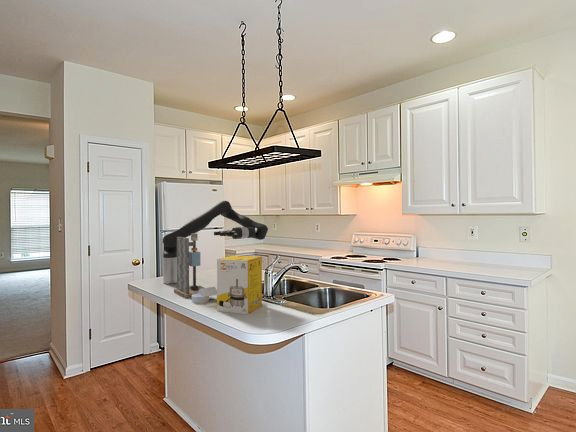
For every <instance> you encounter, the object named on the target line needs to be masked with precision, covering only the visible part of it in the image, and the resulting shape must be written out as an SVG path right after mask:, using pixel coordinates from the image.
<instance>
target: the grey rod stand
mask: <svg viewBox="0 0 576 432" xmlns="http://www.w3.org/2000/svg"><path fill="white" fill-rule="evenodd" d="M198 238H199V237H198V232H197V233H192V234H191V235H190V238H189V237H186V238H183V237H177V283H176V288H173V293H174V294H176V295H177V296H180V297H182V298H184V299H192V295H193V294H197V292H198V291H199V290H200V289H202V288H205V287H203V286H201V285H197V266H192V285H190V266H189V252H196V251H198V248H197V247H196V246H197V245H196V244H197V242H196V241H199V239H198ZM190 247H191V249H190ZM190 250H191V251H190Z"/></svg>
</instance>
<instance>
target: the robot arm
mask: <svg viewBox="0 0 576 432" xmlns="http://www.w3.org/2000/svg"><path fill="white" fill-rule="evenodd" d="M220 215H221V216H222V217H224V218H226V219H229V220H231V221H233V222H235V223H237V224H239V225H241V226H234V227H232V228H231V230H230V229H229V230H228V229H227V230H221V231H220V230H219V231H213V236H220V237H231V238H232V239H233V240H241V239H256V240H259V241H262V240H264V239H265V238H266V236H267V233H268V230H269V227H268V226H267V225H266V224H263V223H260V222H256V221H255V220H253V219H251V218H250V217H249V216H245V215H243V214H240V213H238V212H237V211H236V210H234V208H232V204H231V203H230V201H229V200H222V201H220V202H218V203H216V204H215V205H214V206H213V207H211V208H209V209H208V210H207V211H205V212H203V213H201V214H200V215H198V216H197V215H196V217H194V218H192V219H191V220H189V221H188V222H186V223H184V225H183V226H181V227H180V228H178V229H176V230H174V231H172V232H170V233H166V234H165V235H164V236H163V237H162V244H163V250H162V251H163V252H162V264H163V265H162V268H163V269H162V270H163V271H162V278H163V279H162V280H163V281H162V283H163V284H166V285H167V284H171V285H172V284H177V237H183V238H189V237H191V234H192V233H197V234H198V233H199V232H200V231H202V230H204V229H205V228H206V227H208V226H209V225H210V223H211V222H212V221H213V220H214V219H215V218H217V217H218V216H220Z"/></svg>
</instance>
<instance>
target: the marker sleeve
mask: <svg viewBox="0 0 576 432" xmlns="http://www.w3.org/2000/svg"><path fill="white" fill-rule="evenodd" d="M193 266H196V267H199V266H200V267H201V251H199V250H197V251H196V252H193V251H189V267H193Z"/></svg>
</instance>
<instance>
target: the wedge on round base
mask: <svg viewBox="0 0 576 432" xmlns="http://www.w3.org/2000/svg"><path fill="white" fill-rule="evenodd" d="M210 296H217V287H216V286H211V287H210V286H209V287H204V288H202V289H200V290H199V291H198V292H197V294H193V295H192V298H191V303H192V304H205V303H208V302H210Z"/></svg>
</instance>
